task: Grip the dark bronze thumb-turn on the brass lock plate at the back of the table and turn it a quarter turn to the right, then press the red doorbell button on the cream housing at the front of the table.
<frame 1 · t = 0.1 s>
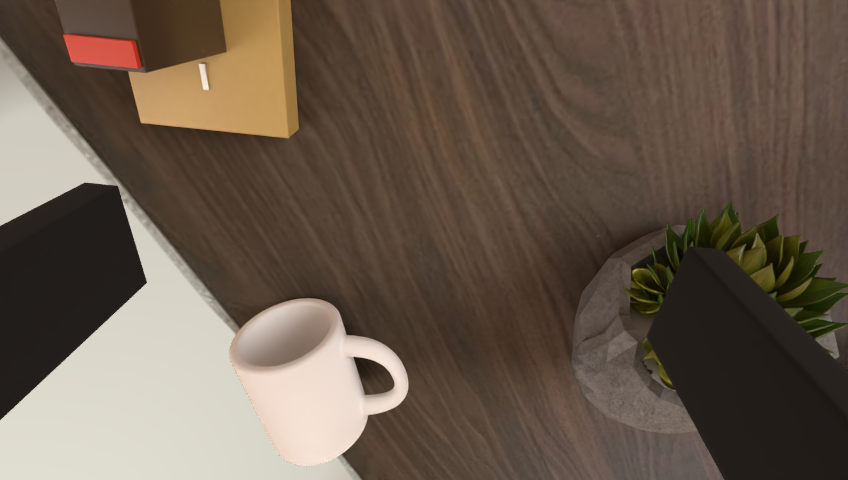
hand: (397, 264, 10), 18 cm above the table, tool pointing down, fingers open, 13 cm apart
lock plate: (214, 16, 24), on the table
potted plant: (647, 263, 31), on the table
mug: (342, 340, 36), on the table
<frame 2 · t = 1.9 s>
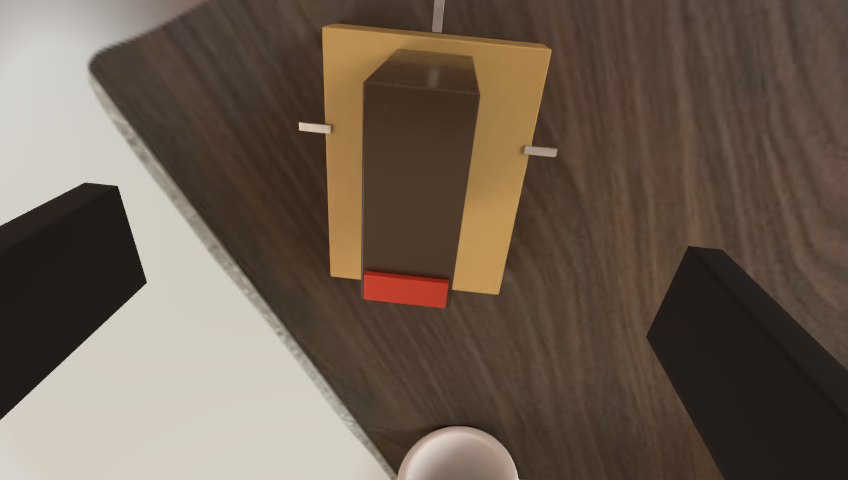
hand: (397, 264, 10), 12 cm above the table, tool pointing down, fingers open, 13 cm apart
lock plate: (426, 165, 21), on the table
lock turn: (420, 169, 15), point 6 cm above the table, hinge at 0.0°
mug: (488, 462, 34), on the table
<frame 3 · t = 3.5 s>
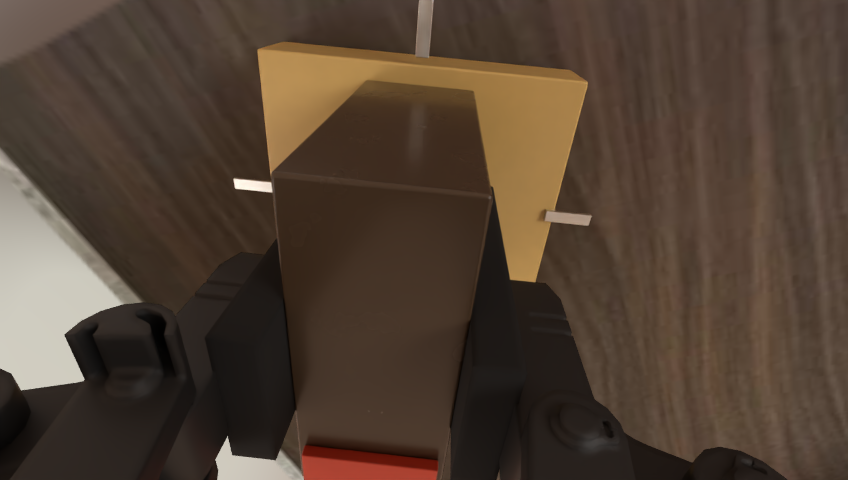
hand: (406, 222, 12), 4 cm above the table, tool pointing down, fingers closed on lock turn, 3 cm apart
lock plate: (412, 225, 16), on the table
lock turn: (397, 263, 10), point 6 cm above the table, hinge at 0.0°, touching gripper
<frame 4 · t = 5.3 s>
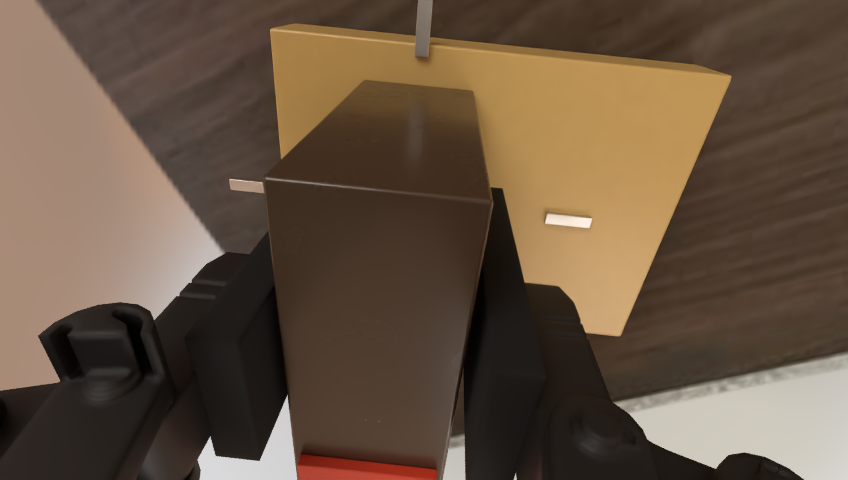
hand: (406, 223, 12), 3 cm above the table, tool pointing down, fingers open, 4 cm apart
lock plate: (472, 183, 15), on the table
lock turn: (395, 267, 10), point 6 cm above the table, hinge at -89.8°
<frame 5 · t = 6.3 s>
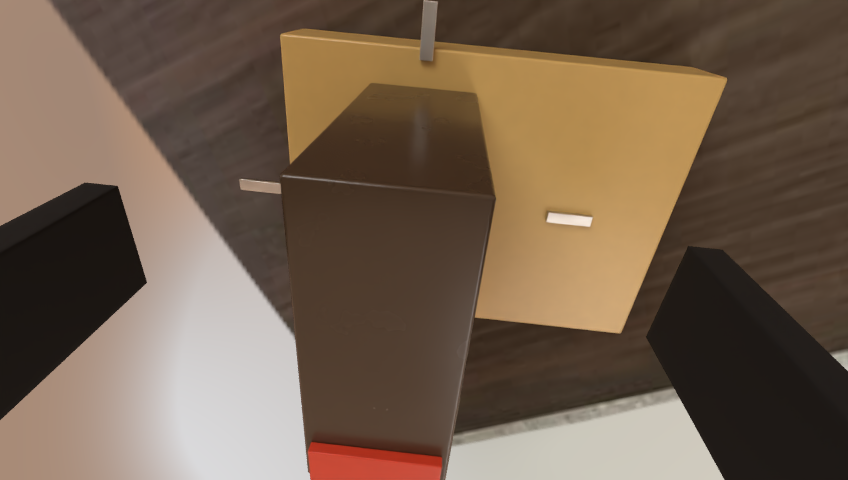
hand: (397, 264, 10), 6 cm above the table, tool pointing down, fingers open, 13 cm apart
lock plate: (475, 183, 15), on the table
lock turn: (401, 263, 10), point 6 cm above the table, hinge at -89.8°
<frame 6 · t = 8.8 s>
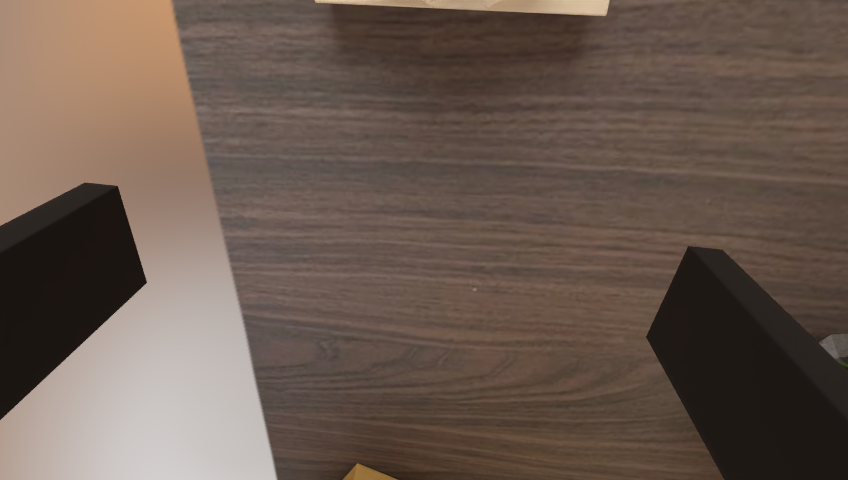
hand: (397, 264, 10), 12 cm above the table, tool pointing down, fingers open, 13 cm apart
potted plant: (797, 378, 27), on the table
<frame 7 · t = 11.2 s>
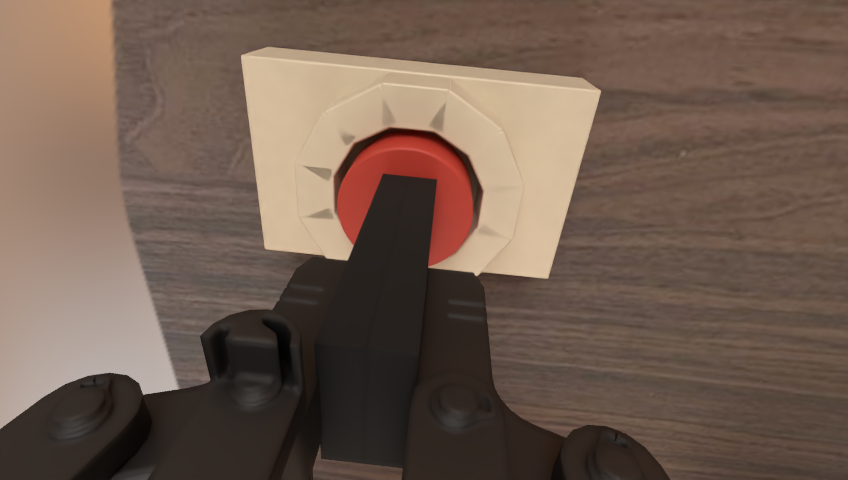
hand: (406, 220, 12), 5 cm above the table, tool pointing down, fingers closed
bell housing: (416, 158, 17), on the table
bell button: (407, 201, 13), point 4 cm above the table, slide at -0.5 cm, touching gripper
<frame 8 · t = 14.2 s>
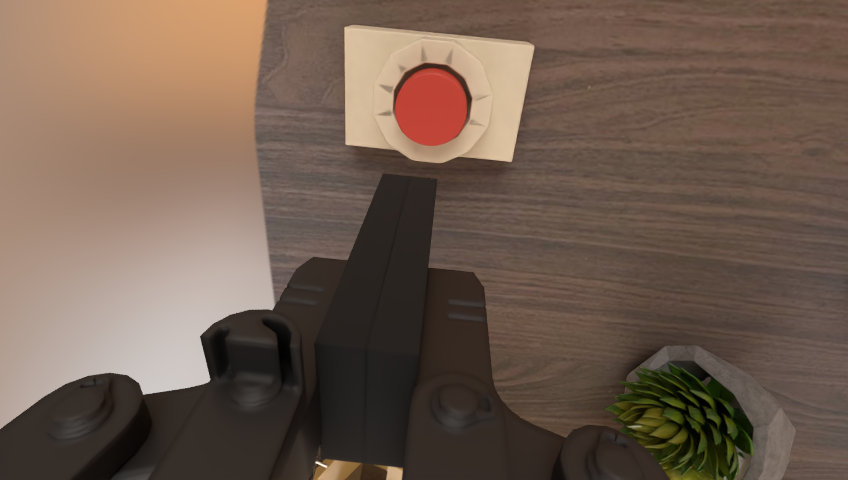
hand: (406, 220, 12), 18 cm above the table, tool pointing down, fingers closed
lock plate: (378, 469, 50), on the table
potted plant: (657, 374, 40), on the table
bell housing: (435, 91, 28), on the table
bell button: (431, 107, 24), point 4 cm above the table, slide at 0.1 cm
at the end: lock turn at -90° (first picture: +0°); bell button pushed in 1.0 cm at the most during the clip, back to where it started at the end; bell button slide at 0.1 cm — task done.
